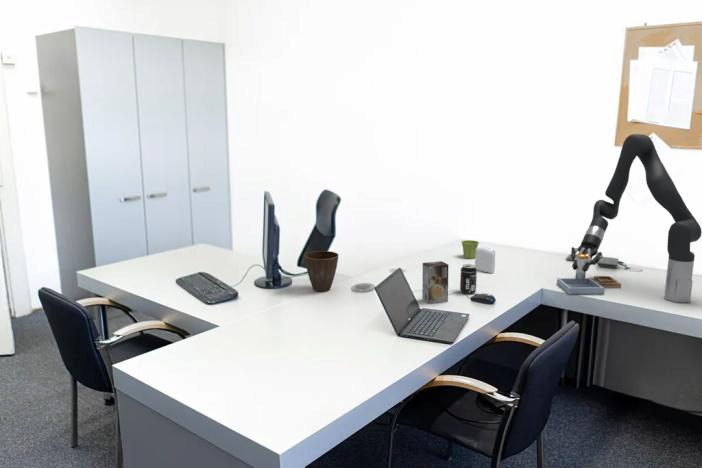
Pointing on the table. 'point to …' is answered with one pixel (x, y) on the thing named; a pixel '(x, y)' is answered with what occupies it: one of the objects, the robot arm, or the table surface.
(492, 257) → the photo printer
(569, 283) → the tray
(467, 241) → the plant pot
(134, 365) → the table surface
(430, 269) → the coffee box
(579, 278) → the lock pin
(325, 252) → the plant pot
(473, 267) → the beverage can
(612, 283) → the brown stepped base
